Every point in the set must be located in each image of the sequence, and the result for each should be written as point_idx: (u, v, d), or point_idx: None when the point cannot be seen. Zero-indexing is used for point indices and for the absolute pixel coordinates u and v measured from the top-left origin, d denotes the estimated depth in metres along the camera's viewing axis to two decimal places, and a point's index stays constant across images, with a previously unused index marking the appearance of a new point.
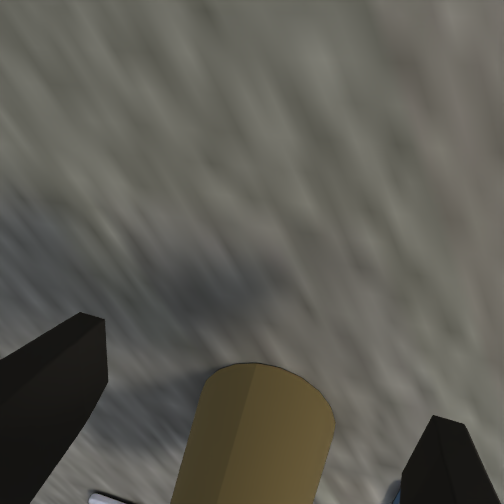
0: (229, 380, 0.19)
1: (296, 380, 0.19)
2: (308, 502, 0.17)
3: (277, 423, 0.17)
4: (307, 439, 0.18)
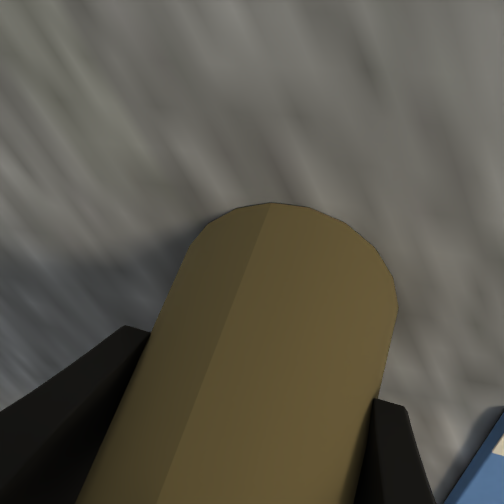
0: (225, 228, 0.11)
1: (338, 226, 0.11)
2: (369, 416, 0.09)
3: (310, 278, 0.10)
4: (362, 312, 0.10)
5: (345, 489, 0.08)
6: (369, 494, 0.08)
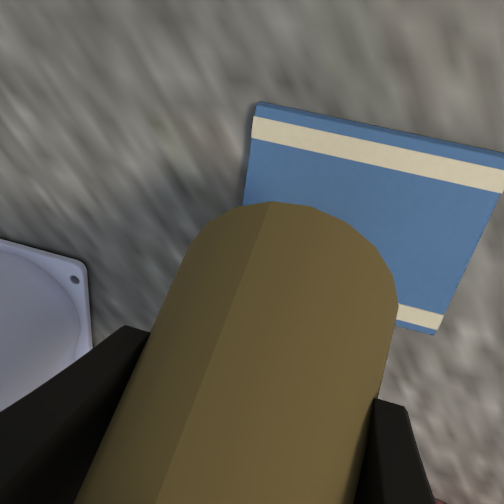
0: (225, 227, 0.11)
1: (338, 224, 0.11)
2: (370, 414, 0.09)
3: (310, 277, 0.10)
4: (363, 310, 0.10)
5: (345, 487, 0.08)
6: (369, 494, 0.08)
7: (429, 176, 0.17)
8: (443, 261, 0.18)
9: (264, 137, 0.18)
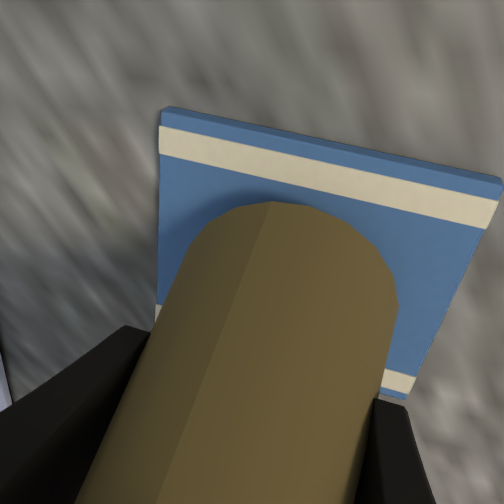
0: (226, 227, 0.11)
1: (339, 224, 0.11)
2: (370, 414, 0.09)
3: (310, 277, 0.10)
4: (363, 310, 0.10)
5: (346, 487, 0.08)
6: (368, 495, 0.08)
7: (389, 206, 0.13)
8: (412, 312, 0.14)
9: (175, 153, 0.13)
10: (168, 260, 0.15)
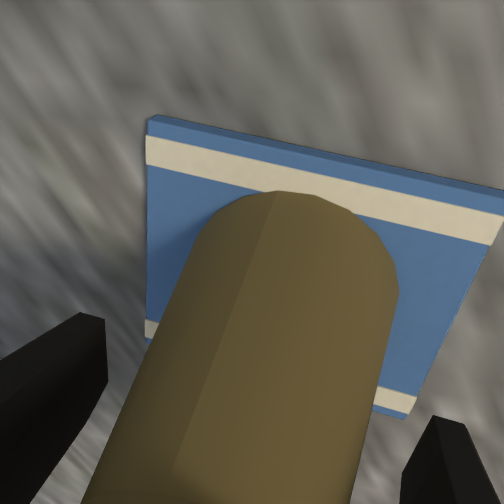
0: (234, 215, 0.12)
1: (342, 212, 0.12)
2: (372, 389, 0.10)
3: (316, 260, 0.10)
4: (366, 292, 0.11)
5: (350, 453, 0.08)
6: None
7: (388, 220, 0.12)
8: (413, 330, 0.13)
9: (163, 164, 0.13)
10: (157, 274, 0.15)
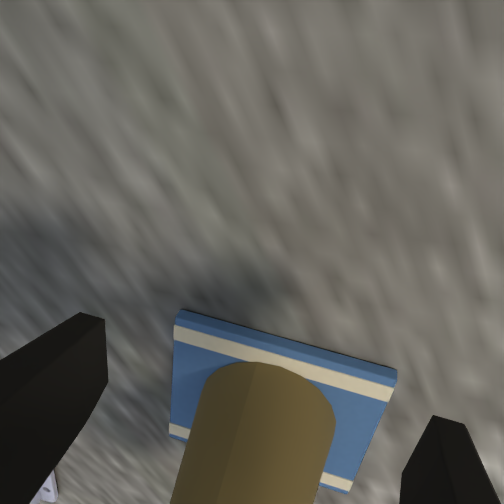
0: (229, 378, 0.19)
1: (297, 379, 0.19)
2: (308, 501, 0.17)
3: (277, 422, 0.17)
4: (307, 438, 0.18)
5: None
6: None
7: (326, 383, 0.19)
8: (346, 443, 0.21)
9: (184, 340, 0.20)
10: (179, 397, 0.22)
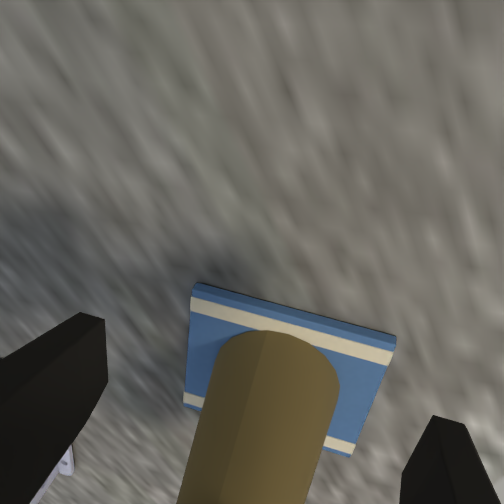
0: (242, 345, 0.21)
1: (304, 345, 0.21)
2: (316, 453, 0.19)
3: (287, 382, 0.19)
4: (314, 397, 0.19)
5: (300, 489, 0.17)
6: None
7: (331, 349, 0.21)
8: (350, 407, 0.22)
9: (200, 311, 0.22)
10: (193, 367, 0.24)
